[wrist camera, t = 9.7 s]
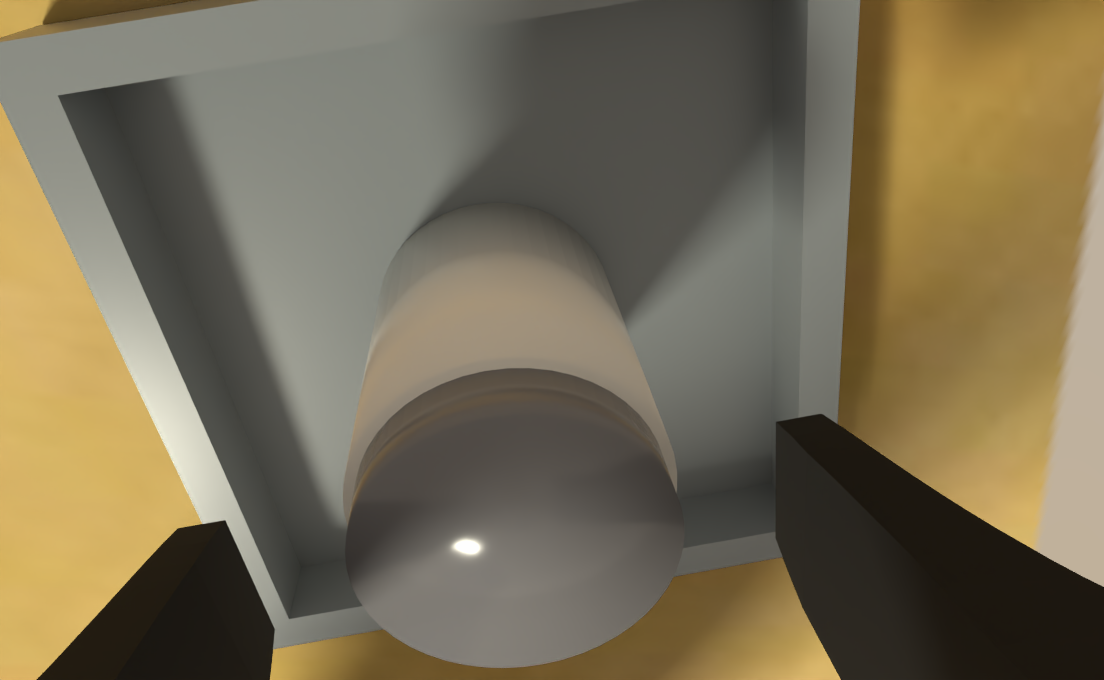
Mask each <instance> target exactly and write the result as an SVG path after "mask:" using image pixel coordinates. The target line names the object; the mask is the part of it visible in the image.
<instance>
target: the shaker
mask: <svg viewBox="0 0 1104 680" xmlns="http://www.w3.org/2000/svg"><path fill="white" fill-rule="evenodd" d="M676 491H677V468H676V462H675V456H674V452H673V449H672V447H671V444H670V441H669V438H668V435H667V433H666V430H665V428H664V425H663V422H662V420H661V417H660V415H659V412H658V409H657V407H656V404H655V402H654V399H653V396H652V394H651V391H650V388H649V386H648V383H647V381H646V378H645V375H644V373H643V370H642V368H641V365H640V362H639V360H638V357H637V355H636V352H635V349H634V347H633V344H632V342H631V339H630V336H629V334H628V331H627V329H626V326H625V323H624V321H623V318H622V315H621V313H620V310H619V308H618V305H617V302H616V300H615V297H614V295H613V292H612V289H611V287H610V284H609V282H608V279H607V276H606V274H605V271H604V269H603V266H602V264H601V262H600V260H599V259H598V257H597V255H596V253H595V252H594V251H593V249H592V248H591V246H590V245H589V244H588V243H587V241H586V240H585V239H584V238H583V237H582V236H581V235H580V234H579V233H578V232H576V231H575V230H574V229H573V228H571V227H570V226H569V225H567V224H566V223H565V222H563V221H561V220H559V219H558V218H556V217H554V216H553V215H550V214H548V213H545V212H543V211H541V210H538V209H534V208H531V207H527V206H523V205H517V204H510V203H485V204H476V205H471V206H467V207H462V208H458V209H456V210H453V211H450V212H448V213H445V214H443V215H441V216H439V217H437V218H435V219H433V220H432V221H430V222H428V223H427V224H425V225H424V226H423V227H421V228H420V229H419V230H417V231H416V232H415V233H414V234H413V235H412V236H411V237H410V238H409V239H408V240H406V241H405V243H404V244H403V245H402V246H401V248H400V249H399V250H398V251H397V253H396V254H395V256H394V258H393V259H392V261H391V263H390V264H389V266H388V269H387V271H386V274H385V276H384V279H383V283H382V287H381V291H380V296H379V301H378V306H377V311H376V316H375V321H374V327H373V332H372V337H371V342H370V347H369V352H368V357H367V363H366V368H365V373H364V378H363V383H362V388H361V393H360V399H359V404H358V409H357V414H356V419H355V424H354V430H353V435H352V440H351V445H350V450H349V455H348V460H347V466H346V471H345V476H344V484H343V507H344V515H345V519H346V522H347V526H348V527H347V533H346V544H345V559H346V569H347V572H348V576H349V579H350V583H351V586H352V588H353V590H354V592H355V594H356V596H357V598H358V600H359V601H360V603H361V604H362V606H363V607H364V608H365V610H366V611H367V613H368V614H369V615H370V616H371V617H372V618H373V619H374V620H375V621H376V622H377V623H378V624H379V625H380V626H381V627H382V628H383V629H384V630H386V631H387V632H388V633H389V634H391V635H392V636H393V637H395V638H396V639H398V640H400V641H401V642H403V643H405V644H406V645H408V646H409V647H412V648H414V649H416V650H418V651H420V652H423V653H425V654H427V655H430V656H433V657H436V658H439V659H442V660H445V661H449V662H454V663H458V664H463V665H470V666H477V667H489V668H513V667H527V666H534V665H541V664H546V663H551V662H555V661H559V660H564V659H567V658H570V657H573V656H576V655H579V654H582V653H584V652H587V651H589V650H591V649H594V648H596V647H598V646H600V645H602V644H604V643H606V642H608V641H610V640H611V639H613V638H615V637H617V636H618V635H620V634H621V633H623V632H624V631H626V630H627V629H628V628H630V627H631V626H633V625H634V624H635V623H636V622H637V621H638V620H640V619H641V618H642V617H643V616H644V615H645V614H647V612H648V611H649V610H650V609H651V608H652V607H653V606H654V605H655V604H656V603H657V602H658V600H659V599H660V598H661V596H662V595H663V593H664V592H665V591H666V589H667V588H668V586H669V584H670V582H671V581H672V579H673V577H674V575H675V573H676V571H677V568H678V565H679V562H680V559H681V556H682V550H683V545H684V519H683V513H682V508H681V505H680V502H679V499H678V496H677V494H676Z"/></svg>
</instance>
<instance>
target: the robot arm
mask: <svg viewBox="0 0 1104 680" xmlns="http://www.w3.org/2000/svg"><path fill="white" fill-rule="evenodd" d="M775 538H776V541H777V543H778V546H779V549H780V551H781V554H782V557H783V559H784V562H785V564H786V567H787V570H788V572H789V575H790V577H791V580H792V582H793V585H794V587H795V590H796V592H797V595H798V597H799V600H800V602H801V605H802V607H803V609H804V611H805V613H806V615H807V617H808V619H809V621H810V622H811V624H812V626H813V628H814V630H815V632H816V634H817V636H818V638H819V639H820V641H821V643H822V645H823V647H824V649H825V651H826V652H827V654H828V656H829V658H830V660H831V662H832V664H833V666H834V667H835V669H836V671H837V673H838V675H839V677H840V678H841V680H1104V587H1102V586H1101V585H1098V584H1096V583H1094V582H1092V581H1090V580H1088V579H1086V578H1084V577H1082V576H1080V575H1079V574H1077V573H1075V572H1073V571H1071V570H1069V569H1067V568H1066V567H1064V566H1062V565H1060V564H1058V563H1056V562H1054V561H1052V560H1050V559H1049V558H1047V557H1045V556H1044V555H1042V554H1040V553H1038V552H1037V551H1035V550H1033V549H1031V548H1030V547H1028V546H1026V545H1024V544H1023V543H1021V542H1019V541H1017V540H1016V539H1014V538H1012V537H1010V536H1009V535H1007V534H1005V533H1004V532H1002V531H1000V530H998V529H997V528H995V527H993V526H992V525H990V524H988V523H987V522H985V521H983V520H982V519H980V518H978V517H977V516H975V515H974V514H972V513H970V512H969V511H967V510H965V509H964V508H962V507H961V506H959V505H957V504H956V503H954V502H953V501H951V500H950V499H948V498H946V497H945V496H943V495H942V494H940V493H939V492H937V491H936V490H934V489H932V488H931V487H929V486H928V485H926V484H925V483H923V482H922V481H920V480H919V479H917V478H916V477H914V476H913V475H911V474H910V473H908V472H907V471H905V470H904V469H902V468H901V467H899V466H898V465H896V464H895V463H893V462H892V461H891V460H889V459H888V458H886V457H885V456H883V455H882V454H880V453H879V452H877V451H876V450H874V449H873V448H872V447H870V446H869V445H867V444H866V443H864V442H863V441H861V440H860V439H859V438H857V437H856V436H854V435H853V434H851V433H850V432H848V431H847V430H845V429H844V428H843V427H841V426H840V425H838V424H837V423H835V422H834V421H832V420H831V419H829V418H828V417H826V416H825V415H823V414H816V415H811V416H805V417H799V418H794V419H788V420H783V421H777V422H776V523H775ZM274 634H275V628H274V626H273V624H272V622H271V620H270V617H269V615H268V613H267V611H266V609H265V606H264V604H263V602H262V600H261V598H260V595H259V593H258V591H257V589H256V587H255V584H254V582H253V580H252V578H251V576H250V573H249V571H248V569H247V567H246V565H245V562H244V560H243V558H242V556H241V554H240V551H239V549H238V547H237V545H236V542H235V540H234V538H233V536H232V534H231V531H230V529H229V527H228V525H227V523H226V520H223V521H217V522H211V523H206V524H200V525H195V526H189V527H183V528H178V529H177V530H176V531H175V532H174V533H173V534H172V535H171V536H170V537H169V538H168V539H167V540H166V541H165V542H164V543H163V544H162V545H161V546H160V547H159V548H158V549H157V550H156V551H155V552H154V554H153V555H152V556H151V557H150V558H149V559H148V560H147V561H146V562H145V563H144V564H143V565H142V567H141V568H140V569H139V570H138V571H137V572H136V573H135V574H134V575H133V576H132V577H131V579H130V580H129V581H128V582H127V583H126V584H125V585H124V586H123V587H122V588H121V590H120V591H119V592H118V593H117V594H116V595H115V596H114V597H113V598H112V599H111V601H110V602H109V603H108V604H107V605H106V606H105V607H104V608H103V609H102V610H101V611H100V613H99V614H98V615H97V616H96V617H95V618H94V619H93V620H92V621H91V622H90V623H89V624H88V626H87V627H86V628H85V629H84V630H83V631H82V632H81V633H80V634H79V635H78V636H77V637H76V639H75V640H74V641H73V642H72V643H71V644H70V645H69V646H68V647H67V648H66V649H65V650H64V651H63V653H62V654H61V655H60V656H59V657H58V658H57V659H56V660H55V661H54V662H53V663H52V664H51V665H50V666H49V668H48V669H47V670H46V671H45V672H44V673H43V674H42V675H41V676H40V677H39V678H38V679H37V680H270V673H271V664H272V654H273V644H274Z"/></svg>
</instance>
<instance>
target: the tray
mask: <svg viewBox="0 0 1104 680" xmlns="http://www.w3.org/2000/svg"><path fill="white" fill-rule="evenodd" d="M859 14H860V0H195V1H189V2H183V3H176V4H170V5H164V6H158V7H151V8H145V9H139V10H133V11H127V12H120V13H114V14H108V15H102V16H95V17H89V18H83V19H77V20H71V21H64V22H58V23H52V24H46V25H39V26H36V27H33V28H30V29H27V30H24V31H21V32H17V33H14V34H11V35H8V36H5V37H2V38H0V102H1V104H2V106H3V109H4V111H5V113H6V115H7V117H8V119H9V121H10V123H11V125H12V127H13V129H14V132H15V134H16V136H17V138H18V140H19V142H20V144H21V146H22V148H23V150H24V152H25V154H26V157H27V159H28V161H29V163H30V165H31V167H32V169H33V171H34V173H35V175H36V177H37V180H38V182H39V184H40V186H41V188H42V190H43V192H44V194H45V196H46V198H47V200H48V202H49V205H50V207H51V209H52V211H53V213H54V215H55V217H56V219H57V221H58V223H59V225H60V228H61V230H62V232H63V234H64V236H65V238H66V240H67V242H68V244H69V246H70V248H71V250H72V253H73V255H74V257H75V259H76V261H77V263H78V265H79V267H80V269H81V271H82V273H83V276H84V278H85V280H86V282H87V284H88V286H89V288H90V290H91V292H92V294H93V296H94V298H95V301H96V303H97V305H98V307H99V309H100V311H101V313H102V315H103V317H104V319H105V321H106V324H107V326H108V328H109V330H110V332H111V334H112V336H113V338H114V340H115V342H116V344H117V346H118V349H119V351H120V353H121V355H122V357H123V359H124V361H125V363H126V365H127V367H128V369H129V372H130V374H131V376H132V378H133V380H134V382H135V384H136V386H137V388H138V390H139V392H140V395H141V397H142V399H143V401H144V403H145V405H146V407H147V409H148V411H149V413H150V415H151V417H152V420H153V422H154V424H155V426H156V428H157V430H158V432H159V434H160V436H161V438H162V440H163V443H164V445H165V447H166V449H167V451H168V453H169V455H170V457H171V459H172V461H173V463H174V465H175V468H176V470H177V472H178V474H179V476H180V478H181V480H182V482H183V484H184V486H185V488H186V491H187V493H188V495H189V497H190V499H191V501H192V503H193V505H194V507H195V509H196V511H197V513H198V516H199V518H200V520H201V522H202V524H206V523H211V522H217V521H223V520H226V523H227V525H228V527H229V529H230V531H231V534H232V536H233V538H234V540H235V542H236V545H237V547H238V549H239V551H240V554H241V556H242V558H243V560H244V562H245V565H246V567H247V569H248V571H249V573H250V576H251V578H252V580H253V582H254V584H255V587H256V589H257V591H258V593H259V595H260V598H261V600H262V602H263V604H264V606H265V609H266V611H267V613H268V615H269V617H270V620H271V622H272V624H273V626H274V628H275V634H274V644H273V649H277V648H283V647H288V646H294V645H299V644H305V643H310V642H316V641H321V640H327V639H332V638H338V637H343V636H349V635H354V634H360V633H366V632H371V631H377V630H382V629H383V628H382V627H381V626H380V625H379V624H378V623H377V622H376V621H375V620H374V619H373V618H372V617H371V616H370V615H369V614H368V613H367V611H366V610H365V608H364V607H363V606H362V604H361V603H360V601H359V600H358V598H357V596H356V594H355V592H354V590H353V588H352V586H351V583H350V579H349V576H348V572H347V569H346V559H345V544H346V533H347V527H348V526H347V522H346V519H345V515H344V507H343V484H344V476H345V471H346V466H347V460H348V455H349V450H350V445H351V440H352V435H353V430H354V424H355V419H356V414H357V409H358V404H359V399H360V393H361V388H362V383H363V378H364V373H365V368H366V363H367V357H368V352H369V347H370V342H371V337H372V332H373V327H374V321H375V316H376V311H377V306H378V301H379V296H380V291H381V287H382V283H383V279H384V276H385V274H386V271H387V269H388V266H389V264H390V263H391V261H392V259H393V258H394V256H395V254H396V253H397V251H398V250H399V249H400V248H401V246H402V245H403V244H404V243H405V241H406V240H408V239H409V238H410V237H411V236H412V235H413V234H414V233H415V232H416V231H417V230H419V229H420V228H421V227H423V226H424V225H425V224H427V223H428V222H430V221H432V220H433V219H435V218H437V217H439V216H441V215H443V214H445V213H448V212H450V211H453V210H456V209H458V208H462V207H467V206H471V205H476V204H485V203H510V204H517V205H523V206H527V207H531V208H534V209H538V210H541V211H543V212H545V213H548V214H550V215H553V216H554V217H556V218H558V219H559V220H561V221H563V222H565V223H566V224H567V225H569V226H570V227H571V228H573V229H574V230H575V231H576V232H578V233H579V234H580V235H581V236H582V237H583V238H584V239H585V240H586V241H587V243H588V244H589V245H590V246H591V248H592V249H593V251H594V252H595V253H596V255H597V257H598V259H599V260H600V262H601V264H602V266H603V269H604V271H605V274H606V276H607V279H608V282H609V284H610V287H611V289H612V292H613V295H614V297H615V300H616V302H617V305H618V308H619V310H620V313H621V315H622V318H623V321H624V323H625V326H626V329H627V331H628V334H629V336H630V339H631V342H632V344H633V347H634V349H635V352H636V355H637V357H638V360H639V362H640V365H641V368H642V370H643V373H644V375H645V378H646V381H647V383H648V386H649V388H650V391H651V394H652V396H653V399H654V402H655V404H656V407H657V409H658V412H659V415H660V417H661V420H662V422H663V425H664V428H665V430H666V433H667V435H668V438H669V441H670V444H671V447H672V449H673V452H674V456H675V462H676V468H677V491H676V494H677V496H678V499H679V502H680V505H681V508H682V513H683V519H684V545H683V550H682V556H681V559H680V562H679V565H678V568H677V571H676V573H675V575H674V577H675V576H681V575H686V574H692V573H698V572H703V571H709V570H714V569H720V568H725V567H731V566H736V565H742V564H747V563H753V562H758V561H764V560H769V559H775V558H781V557H782V554H781V551H780V549H779V546H778V543H777V541H776V538H775V523H776V422H777V421H783V420H788V419H794V418H799V417H805V416H811V415H816V414H823V415H825V416H826V417H828V418H829V419H831V420H832V421H834V422H835V423H837V424H838V406H839V387H840V368H841V350H842V331H843V312H844V294H845V275H846V256H847V238H848V219H849V200H850V182H851V163H852V144H853V126H854V107H855V88H856V70H857V51H858V33H859Z"/></svg>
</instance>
